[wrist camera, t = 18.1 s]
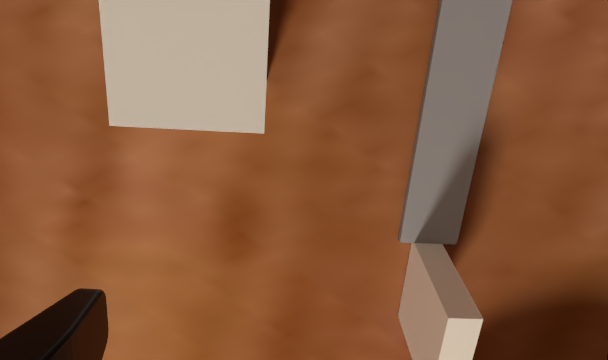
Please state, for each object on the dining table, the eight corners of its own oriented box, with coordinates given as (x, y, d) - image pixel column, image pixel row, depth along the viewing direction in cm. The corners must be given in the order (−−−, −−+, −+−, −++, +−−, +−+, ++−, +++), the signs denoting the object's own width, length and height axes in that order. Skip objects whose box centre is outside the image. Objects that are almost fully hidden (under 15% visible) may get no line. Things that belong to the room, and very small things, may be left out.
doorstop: (273, -74, 17) (273, -76, 12) (266, 80, 19) (264, 133, 14) (145, -84, 17) (90, -91, 12) (152, 74, 19) (109, 125, 14)
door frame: (626, -522, 13) (825, -778, 8) (437, 316, 24) (477, 410, 19) (532, -536, 13) (682, -807, 8) (384, 315, 24) (412, 410, 19)
